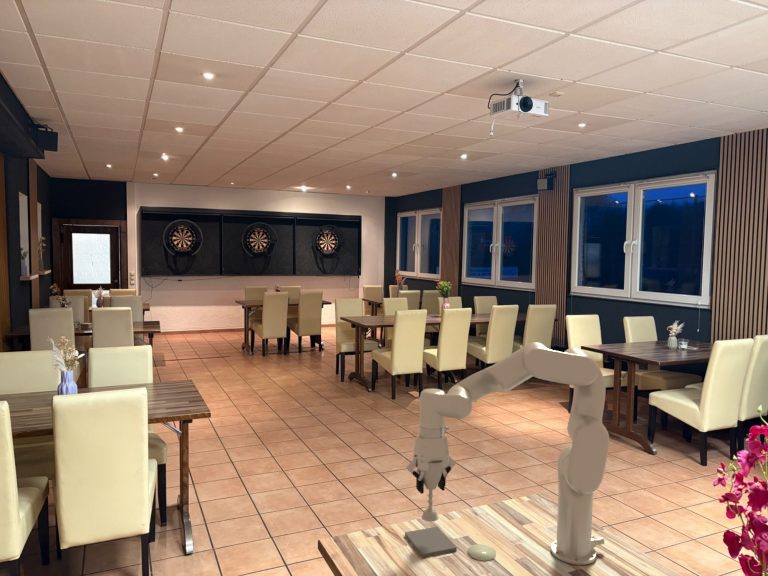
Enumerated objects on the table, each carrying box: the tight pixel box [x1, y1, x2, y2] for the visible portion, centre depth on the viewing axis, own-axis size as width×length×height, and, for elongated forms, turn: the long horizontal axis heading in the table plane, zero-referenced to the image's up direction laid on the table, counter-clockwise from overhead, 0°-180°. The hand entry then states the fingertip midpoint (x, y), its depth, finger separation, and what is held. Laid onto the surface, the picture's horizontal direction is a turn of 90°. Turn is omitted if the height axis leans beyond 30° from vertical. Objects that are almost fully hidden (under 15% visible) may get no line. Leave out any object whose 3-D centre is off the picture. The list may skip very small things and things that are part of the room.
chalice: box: [421, 461, 443, 523], centre depth 169 cm, size 7×7×18 cm
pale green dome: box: [467, 543, 497, 562], centre depth 165 cm, size 8×8×1 cm
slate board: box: [404, 526, 457, 558], centre depth 170 cm, size 11×13×1 cm
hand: (430, 489), depth 169 cm, fingers closed on chalice, 6 cm apart
